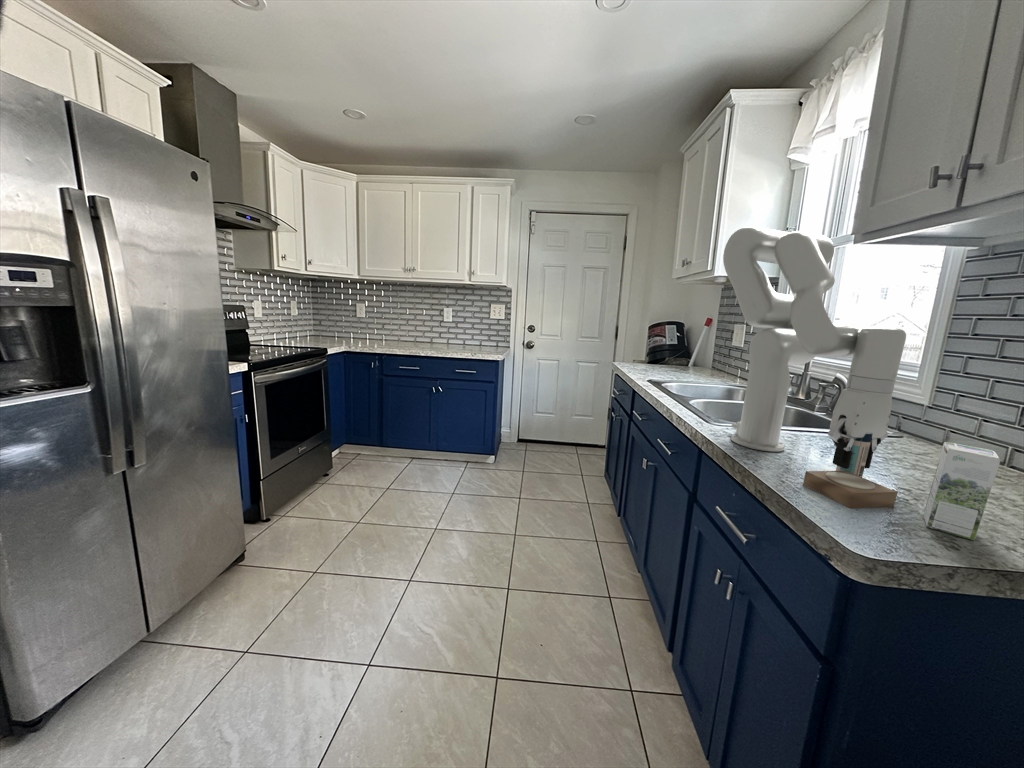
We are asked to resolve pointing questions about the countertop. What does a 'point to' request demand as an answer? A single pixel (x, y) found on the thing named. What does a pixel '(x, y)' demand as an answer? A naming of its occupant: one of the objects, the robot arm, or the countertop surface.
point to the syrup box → (960, 489)
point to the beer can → (858, 455)
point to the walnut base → (850, 489)
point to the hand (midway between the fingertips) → (850, 465)
